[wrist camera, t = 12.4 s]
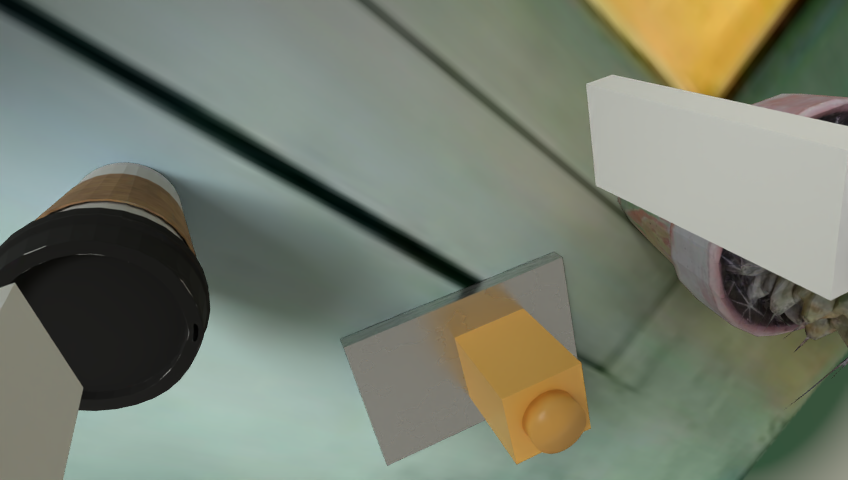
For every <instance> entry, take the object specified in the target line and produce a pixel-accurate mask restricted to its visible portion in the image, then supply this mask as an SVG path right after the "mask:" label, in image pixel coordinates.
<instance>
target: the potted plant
mask: <svg viewBox="0 0 848 480" xmlns="http://www.w3.org/2000/svg"><path fill="white" fill-rule="evenodd" d="M752 105H754V106H758V107H763V108H767V109H772V110H777V111H781V112H786V113H790V114H795V115H799V116H804V117H809V118H813V119H818V120H822V121H827V122H831V123H836V124H841V125H845V126H848V97H835V96H822V95H809V94H780V95H777V96H775V97H772V98H769V99H766V100H763V101H760V102H758V103H755V104H752ZM618 202H619V204H620V205H621V207H622V209H623V210H624V212H625V213H626V215H627V217H628V218H629V220H630V221H631V222H632V223H633V224H634V225H635V226H636V228H637V229H638V230H639V231H640V232H641V233H642V234H643V235H644V236H645V237H646V238H647V239H648V240H649V241H650V242H651V243H652V244H653V245H654V246H655V247H656V248H657V249H658V250H659V251H660V252H661V253H662V254H663V255H664V256H665V257H666V258H667V259H668V260H669V261H670V262H671V263H672V264H673V265H674V267H675V270H676V273H677V276H678V279H679V280H680V281H681V282H682V283H683V284H684V285H685V287H686V288H687V289H688V290H689V291H690V292H691V293H692V294H693V295H694V296H695V297H696V298H697V299H698V300H699V301H701V302H702V303H703V304H705V305H706V306H707V307H709V308H710V309H711V310H713V311H714V312H715V313H717V314H718V315H719V316H720V317H722V318H723V319H724V320H726V321H727V322H728V323H730V324H731V325H732V326H734V327H737V328H739V329H741V330H744V331H746V332H748V333H751V334H753V335H755V336H771V335H779V334H783V333H787V332H791V331H792V332H793V331H795V330H799V329H803V328H805V332H806V335H807V338H806V339H805V340H804V341H803V342H802V343H801V345H800V346H799V347H801V346H802V345H803V344H804V343H805V342H806V341H807V340H808V339H809V338H811V339H814V340H816V339H819V338H821V337H823V336H826V335H828V334H830V333H833V332H835V331H838V333H839V334H840V336H841V338H842V339H843V341H844V342H845V344H846V345H847V347H848V292H847V293H845V294H843V295H841V296H839V297H837V298H835V299H833V300H831V301H830V300H828V299H826V298H824V297H822V296H820V295H818V294H816V293H814V292H812V291H810V290H808V289H806V288H804V287H802V286H799V285H797V284H795V283H793V282H791V281H789V280H787V279H785V278H783V277H781V276H779V275H777V274H775V273H773V272H771V271H769V270H767V269H765V268H763V267H761V266H759V265H757V264H755V263H753V262H751V261H749V260H747V259H744V258H742V257H740V256H738V255H736V254H734V253H732V252H730V251H728V250H726V249H724V248H722V247H720V246H718V245H716V244H714V243H712V242H710V241H708V240H706V239H704V238H702V237H700V236H698V235H696V234H694V233H691V232H689V231H687V230H685V229H683V228H681V227H679V226H677V225H675V224H673V223H671V222H669V221H667V220H665V219H663V218H661V217H659V216H657V215H655V214H653V213H651V212H649V211H647V210H645V209H643V208H641V207H639V206H636V205H634V204H632V203H630V202H628V201H626V200H624V199H622V198H620V197H618ZM787 336H788V335H787ZM787 336H786V337H787ZM799 347H798V348H799ZM798 348H797V349H798ZM797 349H796V350H797ZM796 350H795V351H796ZM844 363H845V364H844ZM847 363H848V357H847V358H846V359H845V360H844V361H843V362H842V363H840V364H839V365H838V366H837V367H836V368H834V369H833V370H832V371H831V372H830V373H832V372H833V371H834V370H835V369H837V368H838V367H839V366H841V365H843V364H844V365H843V367H844V366H845V365H846V364H847ZM843 367H842V368H843ZM830 373H829V374H830ZM829 374H827V375H826V376H825V377H824V378H826V377H827V376H828V375H829ZM824 378H823V379H824ZM823 379H821V380H820V381H819V382H818V383H820V382H821V381H822V380H823ZM818 383H817V384H818ZM817 384H816V385H817ZM816 385H814V386H813V387H812V388H814V387H815V386H816ZM812 388H811V389H812ZM811 389H810V390H811ZM810 390H808V391H810ZM808 391H807V392H808ZM807 392H806V393H807ZM806 393H805V394H806ZM803 395H804V394H803ZM803 395H802V396H803ZM802 396H801V397H802ZM798 399H799V398H798ZM798 399H797V400H798ZM793 403H794V402H793ZM784 410H785V409H784Z"/></svg>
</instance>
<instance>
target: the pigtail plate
mask: <svg viewBox="0 0 848 480" xmlns="http://www.w3.org/2000/svg"><path fill="white" fill-rule="evenodd" d="M523 308H524V309H525V310H526V311H527V312H528V313H529V314H530V315H531V316H532V317H533V318H534V319H535V320H536V321H537V322H538V323H539V324H541V325H542V326H543V327H544V328H545V329H546V330H547V331H548V332H549V333H550V334H551V335H552V336H553V337H554V338H555V339H556V340H558V341H559V342H560V343H561V344H562V345H563V346H564V347H565V348H566V349H567V350H568V351H569V352H570V353H571V354H572V355H573V356H575V357H576V358H577V352H576V345H575V339H574V332H573V325H572V319H571V312H570V305H569V299H568V292H567V285H566V279H565V272H564V265H563V259H562V257H561V256H560V255H558V254H557V253H555V252H552V253H550V254H547V255H545V256H542V257H540V258H538V259H535V260H533V261H530V262H528V263H525V264H523V265H520V266H518V267H516V268H513V269H511V270H508V271H506V272H503V273H501V274H498V275H496V276H494V277H491V278H489V279H486V280H484V281H481V282H479V283H476V284H474V285H472V286H469V287H467V288H464V289H462V290H459V291H457V292H454V293H452V294H450V295H447V296H445V297H442V298H440V299H437V300H435V301H432V302H430V303H428V304H425V305H423V306H420V307H418V308H415V309H413V310H410V311H408V312H406V313H403V314H401V315H398V316H396V317H393V318H391V319H389V320H386V321H384V322H381V323H379V324H376V325H374V326H371V327H369V328H367V329H364V330H362V331H359V332H357V333H354V334H352V335H349V336H347V337H345V338H342V339H340V340H341V343H342V345H343V348H344V351H345V353H346V356H347V359H348V362H349V364H350V367H351V370H352V372H353V375H354V378H355V381H356V383H357V386H358V389H359V392H360V394H361V397H362V400H363V402H364V405H365V408H366V411H367V413H368V416H369V419H370V421H371V424H372V427H373V430H374V432H375V435H376V438H377V440H378V443H379V446H380V449H381V451H382V454H383V457H384V459H385V461H386V464H387V466H388V465H390V464H392V463H394V462H396V461H398V460H401V459H403V458H405V457H407V456H409V455H411V454H413V453H416V452H418V451H420V450H422V449H424V448H426V447H429V446H431V445H433V444H435V443H437V442H439V441H441V440H444V439H446V438H448V437H450V436H452V435H454V434H456V433H459V432H461V431H463V430H465V429H467V428H469V427H472V426H474V425H476V424H478V423H480V422H482V421H484V420H485V418H484V417H483V415H482V414H481V412H480V411H479V410H478V408H477V407H476V405H475V404H474V402H473V401H472V400H471V398H470V396H469V392H468V388H467V385H466V381H465V377H464V373H463V369H462V365H461V362H460V358H459V354H458V350H457V346H456V342H455V339H454V338H455V337H457V336H460V335H462V334H464V333H467V332H469V331H471V330H474V329H476V328H478V327H481V326H483V325H485V324H488V323H490V322H493V321H495V320H497V319H500V318H502V317H504V316H507V315H509V314H511V313H514V312H516V311H518V310H521V309H523Z"/></svg>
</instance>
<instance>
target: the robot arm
mask: <svg viewBox="0 0 848 480" xmlns="http://www.w3.org/2000/svg"><path fill="white" fill-rule="evenodd" d="M586 87H587V98H588V108H589V119H590V129H591V140H592V150H593V161H594V171H595V182H596V186H598V187H600V188H602V189H604V190H606V191H608V192H610V193H612V194H614V195H616V196H618V197H620V198H622V199H624V200H626V201H628V202H630V203H632V204H634V205H636V206H639V207H641V208H643V209H645V210H647V211H649V212H651V213H653V214H655V215H657V216H659V217H661V218H663V219H665V220H667V221H669V222H671V223H673V224H675V225H677V226H679V227H681V228H683V229H685V230H687V231H689V232H691V233H694V234H696V235H698V236H700V237H702V238H704V239H706V240H708V241H710V242H712V243H714V244H716V245H718V246H720V247H722V248H724V249H726V250H728V251H730V252H732V253H734V254H736V255H738V256H740V257H742V258H744V259H747V260H749V261H751V262H753V263H755V264H757V265H759V266H761V267H763V268H765V269H767V270H769V271H771V272H773V273H775V274H777V275H779V276H781V277H783V278H785V279H787V280H789V281H791V282H793V283H795V284H797V285H799V286H802V287H804V288H806V289H808V290H810V291H812V292H814V293H816V294H818V295H820V296H822V297H824V298H826V299H828V300H830V301H831V300H833V299H835V298H837V297H839V296H841V295H843V294H845V293H847V292H848V126H845V125H841V124H836V123H831V122H827V121H822V120H818V119H813V118H809V117H804V116H799V115H795V114H790V113H786V112H781V111H777V110H772V109H767V108H763V107H758V106H754V105H749V104H745V103H740V102H735V101H731V100H726V99H722V98H717V97H713V96H708V95H703V94H699V93H694V92H690V91H685V90H681V89H676V88H671V87H667V86H662V85H658V84H653V83H648V82H644V81H639V80H635V79H630V78H626V77H621V76H616V75H610V76H607V77H604V78H601V79H599V80H596V81H593V82H590V83H587V84H586ZM82 392H83V386H82V385H81V383H80V382H79V380H78V379H77V377H76V376H75V374H74V373H73V371H72V370H71V368H70V367H69V365H68V363H67V362H66V360H65V359H64V357H63V356H62V354H61V353H60V351H59V350H58V348H57V347H56V345H55V343H54V342H53V340H52V339H51V337H50V336H49V334H48V333H47V331H46V330H45V328H44V327H43V325H42V323H41V322H40V320H39V319H38V317H37V316H36V314H35V313H34V311H33V310H32V308H31V307H30V305H29V303H28V302H27V300H26V299H25V297H24V296H23V294H22V293H21V291H20V290H19V288H18V287H17V285H16V283H12V284H9V285H7V286H4V287H1V288H0V480H63V476H64V472H65V468H66V463H67V459H68V454H69V450H70V445H71V441H72V436H73V432H74V427H75V423H76V418H77V414H78V409H79V405H80V400H81V396H82Z"/></svg>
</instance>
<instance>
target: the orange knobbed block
mask: <svg viewBox="0 0 848 480" xmlns="http://www.w3.org/2000/svg"><path fill="white" fill-rule="evenodd" d="M454 339H455V342H456V346H457V350H458V354H459V358H460V362H461V365H462V369H463V373H464V377H465V381H466V385H467V388H468V392H469V396H470V398H471V400H472V401H473V402H474V404H475V405H476V407H477V408H478V410H479V411H480V412H481V414H482V415H483V417H484V418H485V420H486V421H487V423H488V424H489V425H490V427H491V428H492V430H493V431H494V433H495V434H496V436H497V437H498V438H499V440H500V441H501V443H502V444H503V446H504V447H505V448H506V450H507V451H508V453H509V454H510V456H511V457H512V459H513V460H514V461H515V463H516V464H519V463H521V462H523V461H525V460H527V459H529V458H531V457H533V456H535V455H537V454H539V453H541V452H543V453H547V454H553V453H558V452H561V451H563V450H565V449H567V448H569V447H570V446H571V445H573V444H574V443H575V442H576V441H577V440H578V439H579V437H580V436H581V434H582V433H583V432H584V431H586V430H588V429H591V426H590V419H589V412H588V405H587V399H586V392H585V385H584V378H583V371H582V364H581V362H580V361H579V360H578V359H577V358H576V357H575V356H573V355H572V354H571V353H570V352H569V351H568V350H567V349H566V348H565V347H564V346H563V345H562V344H561V343H560V342H559V341H558V340H556V339H555V338H554V337H553V336H552V335H551V334H550V333H549V332H548V331H547V330H546V329H545V328H544V327H543V326H542V325H541V324H539V323H538V322H537V321H536V320H535V319H534V318H533V317H532V316H531V315H530V314H529V313H528V312H527V311H526V310H525V309H524V308H523V309H521V310H518V311H516V312H514V313H511V314H509V315H507V316H504V317H502V318H500V319H497V320H495V321H493V322H490V323H488V324H485V325H483V326H481V327H478V328H476V329H474V330H471V331H469V332H467V333H464V334H462V335H460V336H457V337H455V338H454Z"/></svg>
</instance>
